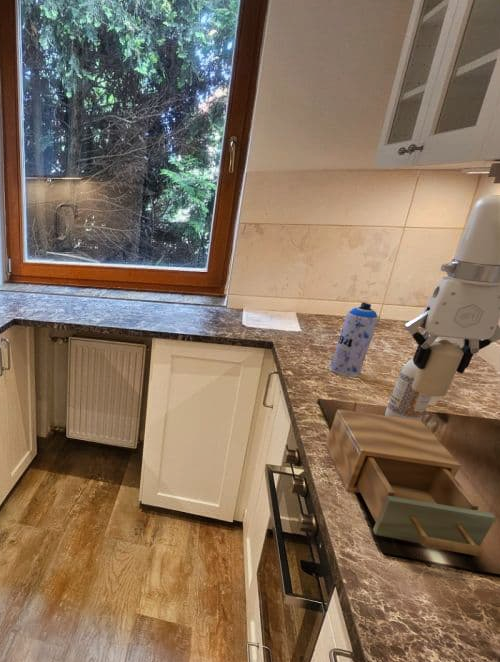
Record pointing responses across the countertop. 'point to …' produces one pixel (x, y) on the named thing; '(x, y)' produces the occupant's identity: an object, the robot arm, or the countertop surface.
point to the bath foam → (407, 395)
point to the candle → (438, 369)
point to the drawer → (422, 505)
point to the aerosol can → (354, 341)
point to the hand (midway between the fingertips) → (437, 367)
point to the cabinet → (382, 443)
